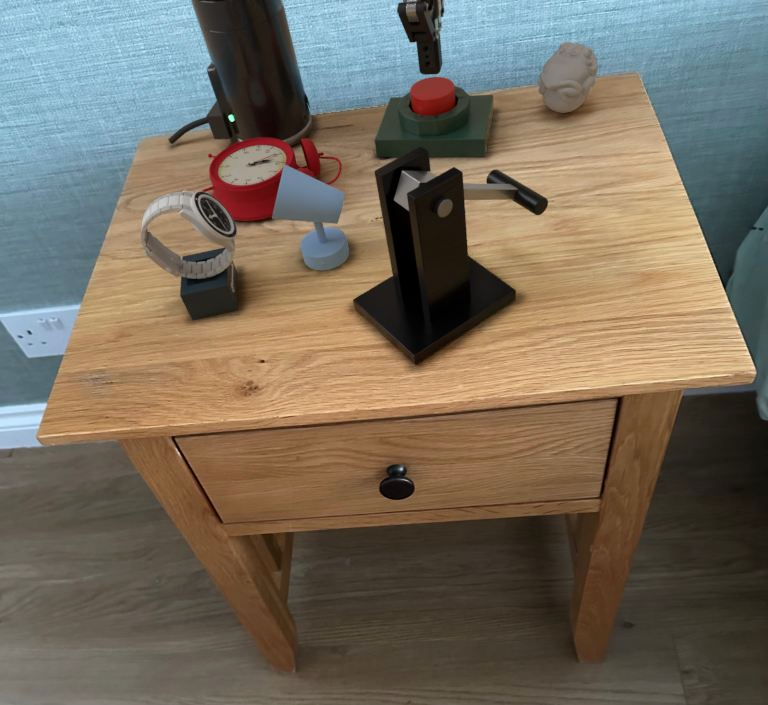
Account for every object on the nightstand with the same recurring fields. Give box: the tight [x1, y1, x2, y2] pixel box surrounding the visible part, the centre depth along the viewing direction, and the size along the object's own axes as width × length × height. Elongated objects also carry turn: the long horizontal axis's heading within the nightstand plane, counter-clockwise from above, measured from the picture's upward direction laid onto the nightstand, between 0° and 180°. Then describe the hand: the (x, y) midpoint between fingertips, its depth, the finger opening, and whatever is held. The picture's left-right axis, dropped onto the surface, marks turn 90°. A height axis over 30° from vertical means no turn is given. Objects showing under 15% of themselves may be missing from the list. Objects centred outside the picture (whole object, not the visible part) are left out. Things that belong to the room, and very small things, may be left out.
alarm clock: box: [201, 137, 343, 222], centre depth 74 cm, size 10×6×15 cm
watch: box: [140, 189, 239, 321], centre depth 62 cm, size 6×8×11 cm
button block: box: [374, 85, 495, 158], centre depth 77 cm, size 12×9×4 cm
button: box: [409, 76, 456, 115], centre depth 76 cm, size 5×5×2 cm
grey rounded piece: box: [537, 41, 599, 114], centre depth 76 cm, size 6×7×7 cm
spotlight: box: [271, 164, 350, 271], centre depth 64 cm, size 5×10×7 cm
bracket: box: [352, 146, 517, 366], centre depth 56 cm, size 11×9×14 cm
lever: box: [394, 168, 549, 216], centre depth 55 cm, size 13×6×2 cm, turn 126°
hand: (431, 71), depth 73 cm, fingers closed
